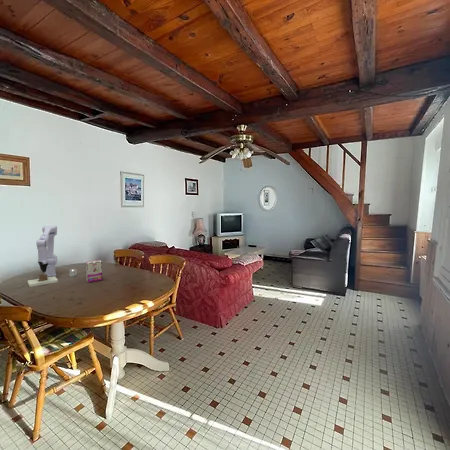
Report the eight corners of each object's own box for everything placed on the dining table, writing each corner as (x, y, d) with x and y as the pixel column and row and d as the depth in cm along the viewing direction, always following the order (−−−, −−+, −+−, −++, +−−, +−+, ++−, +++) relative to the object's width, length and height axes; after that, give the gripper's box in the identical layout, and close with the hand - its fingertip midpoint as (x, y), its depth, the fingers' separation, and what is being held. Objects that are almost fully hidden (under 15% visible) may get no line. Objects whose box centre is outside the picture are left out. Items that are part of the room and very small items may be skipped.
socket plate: (27, 283, 192) (27, 280, 192) (54, 278, 204) (54, 276, 204) (29, 286, 183) (29, 284, 183) (57, 282, 196) (57, 279, 196)
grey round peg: (68, 276, 212) (68, 269, 212) (75, 274, 216) (75, 268, 216) (70, 277, 208) (70, 270, 208) (77, 276, 212) (77, 269, 212)
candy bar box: (101, 278, 207) (100, 260, 206) (102, 280, 203) (102, 261, 202) (86, 281, 200) (85, 261, 199) (87, 282, 196) (87, 263, 195)
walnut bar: (39, 282, 193) (38, 275, 193) (46, 281, 197) (46, 274, 196) (39, 283, 191) (39, 276, 191) (47, 282, 195) (47, 275, 194)
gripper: (50, 255, 190) (51, 272, 191) (47, 252, 200) (47, 268, 202) (39, 256, 185) (39, 273, 186) (36, 253, 195) (37, 269, 197)
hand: (43, 270), depth 194 cm, fingers open, 7 cm apart
